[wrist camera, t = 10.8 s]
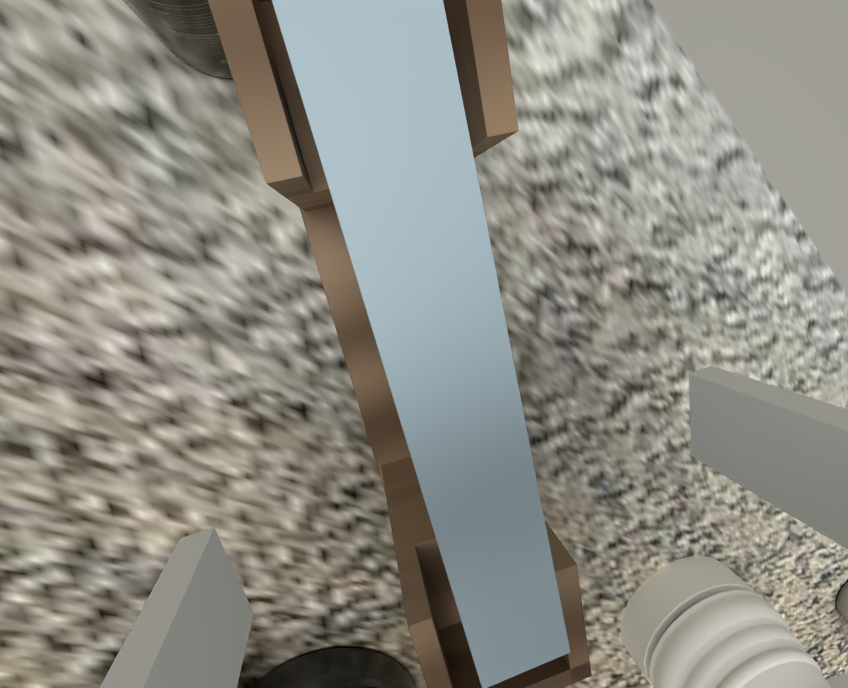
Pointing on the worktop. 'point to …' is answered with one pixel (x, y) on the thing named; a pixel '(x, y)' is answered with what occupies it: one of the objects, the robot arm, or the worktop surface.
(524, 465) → the rail
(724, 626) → the honey pot
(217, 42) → the supplement bottle
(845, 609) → the cupcake
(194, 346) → the worktop surface
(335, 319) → the bracket
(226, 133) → the worktop surface
